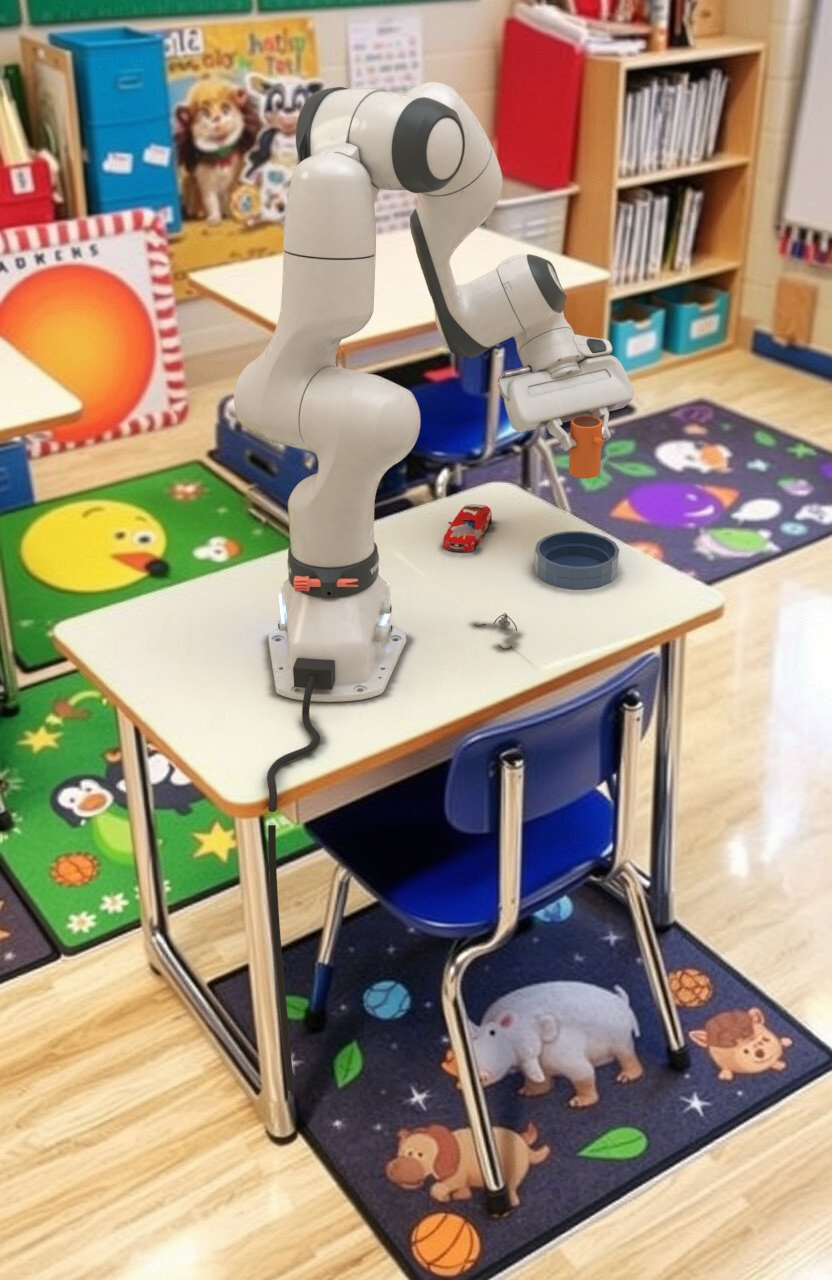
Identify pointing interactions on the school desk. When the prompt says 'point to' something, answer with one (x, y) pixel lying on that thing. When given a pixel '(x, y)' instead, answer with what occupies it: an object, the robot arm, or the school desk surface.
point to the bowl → (576, 560)
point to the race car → (468, 528)
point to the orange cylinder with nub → (586, 447)
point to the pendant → (503, 624)
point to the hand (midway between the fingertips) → (588, 444)
